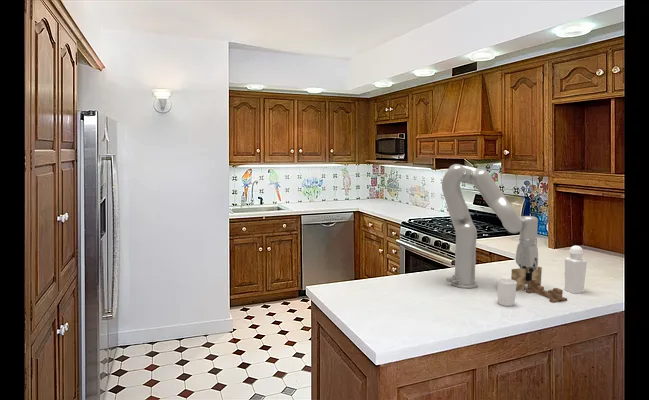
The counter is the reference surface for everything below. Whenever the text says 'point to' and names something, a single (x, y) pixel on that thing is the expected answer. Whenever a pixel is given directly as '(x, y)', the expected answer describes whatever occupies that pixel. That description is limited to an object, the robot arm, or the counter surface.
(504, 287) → the white cup
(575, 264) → the white tall bottle shape
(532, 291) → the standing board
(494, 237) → the counter surface
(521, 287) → the slotted board
